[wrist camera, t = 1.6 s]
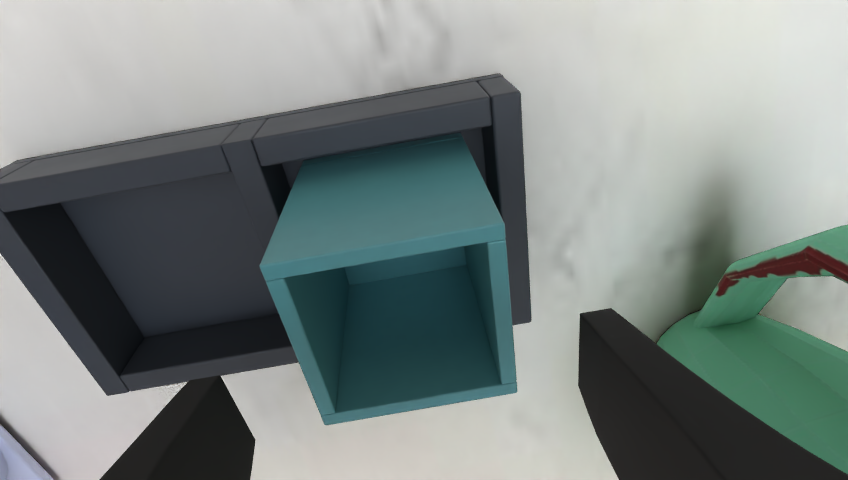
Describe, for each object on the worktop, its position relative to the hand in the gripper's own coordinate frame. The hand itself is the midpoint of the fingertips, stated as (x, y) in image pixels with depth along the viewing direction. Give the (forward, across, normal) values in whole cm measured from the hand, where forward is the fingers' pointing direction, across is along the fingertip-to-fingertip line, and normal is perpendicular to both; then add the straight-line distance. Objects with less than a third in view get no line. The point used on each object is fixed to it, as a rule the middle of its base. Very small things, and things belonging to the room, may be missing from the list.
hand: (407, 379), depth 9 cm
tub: (+7, 0, 0) cm, 7 cm away
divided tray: (+8, +4, 0) cm, 8 cm away
